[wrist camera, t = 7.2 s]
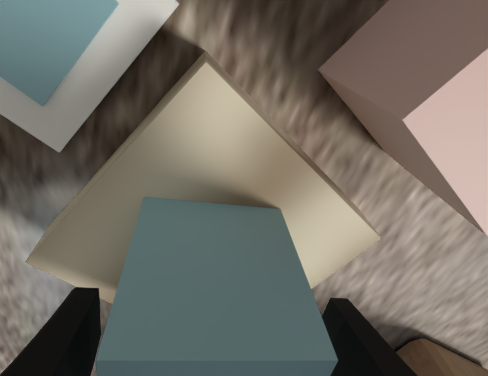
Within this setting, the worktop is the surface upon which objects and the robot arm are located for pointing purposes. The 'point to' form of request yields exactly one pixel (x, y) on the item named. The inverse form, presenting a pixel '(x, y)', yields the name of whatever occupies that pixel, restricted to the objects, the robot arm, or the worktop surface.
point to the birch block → (202, 184)
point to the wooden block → (437, 360)
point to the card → (68, 58)
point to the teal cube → (213, 297)
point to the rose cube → (424, 94)
